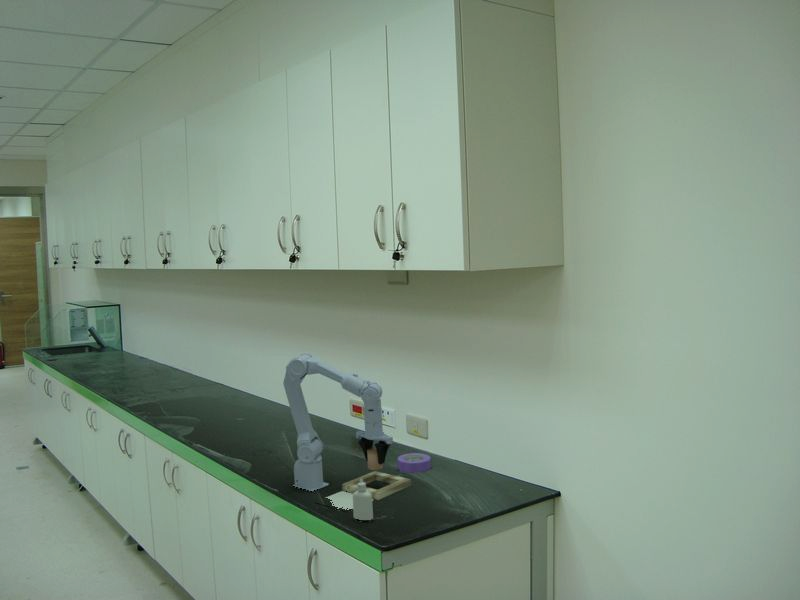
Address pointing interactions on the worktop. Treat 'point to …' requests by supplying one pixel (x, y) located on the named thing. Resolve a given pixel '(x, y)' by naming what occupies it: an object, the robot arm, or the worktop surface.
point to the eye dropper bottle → (362, 503)
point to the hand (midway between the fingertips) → (375, 462)
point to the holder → (394, 481)
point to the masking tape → (414, 462)
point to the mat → (342, 500)
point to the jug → (373, 459)
